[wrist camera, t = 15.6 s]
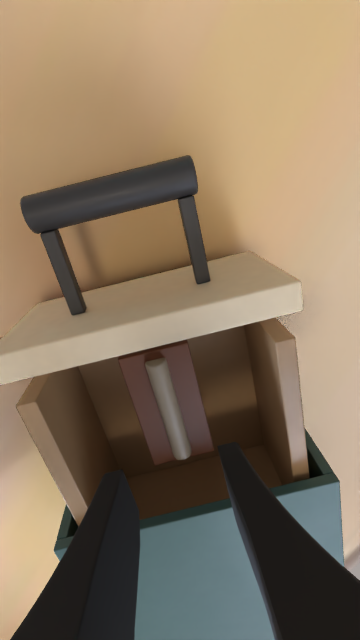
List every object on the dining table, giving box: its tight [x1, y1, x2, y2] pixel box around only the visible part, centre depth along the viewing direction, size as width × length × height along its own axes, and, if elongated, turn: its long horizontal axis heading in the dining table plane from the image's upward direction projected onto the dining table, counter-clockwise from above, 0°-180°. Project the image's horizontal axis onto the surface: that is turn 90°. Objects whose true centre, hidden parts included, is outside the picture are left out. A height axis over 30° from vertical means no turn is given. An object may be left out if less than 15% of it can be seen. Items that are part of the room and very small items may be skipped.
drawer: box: [0, 155, 310, 527], centre depth 16 cm, size 18×12×6 cm, turn 13°
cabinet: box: [54, 428, 344, 640], centre depth 20 cm, size 14×13×8 cm
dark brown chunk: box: [118, 339, 214, 465], centre depth 16 cm, size 6×3×5 cm, turn 13°
